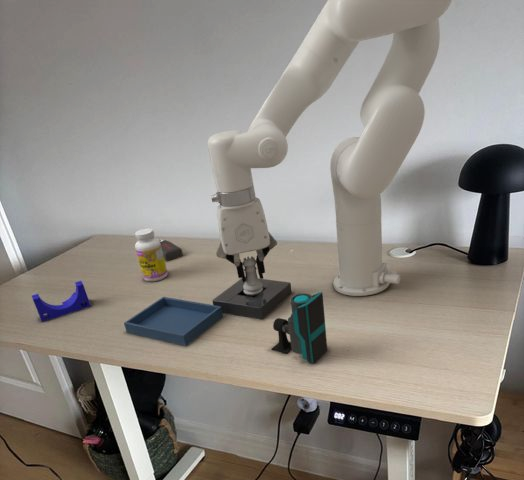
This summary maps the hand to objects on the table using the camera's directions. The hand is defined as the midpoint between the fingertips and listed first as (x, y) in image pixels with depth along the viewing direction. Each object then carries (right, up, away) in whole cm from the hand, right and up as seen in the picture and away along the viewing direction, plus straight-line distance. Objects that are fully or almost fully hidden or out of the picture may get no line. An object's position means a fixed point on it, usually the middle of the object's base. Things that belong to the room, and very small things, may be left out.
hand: (252, 277), depth 116 cm
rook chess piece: (0, -3, +2) cm, 4 cm away
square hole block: (0, -5, +3) cm, 6 cm away
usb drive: (-26, +13, +40) cm, 49 cm away
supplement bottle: (-26, +3, +25) cm, 36 cm away
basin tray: (-17, -11, -1) cm, 20 cm away
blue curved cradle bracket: (-47, -6, +14) cm, 49 cm away
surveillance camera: (+9, -17, -17) cm, 26 cm away
